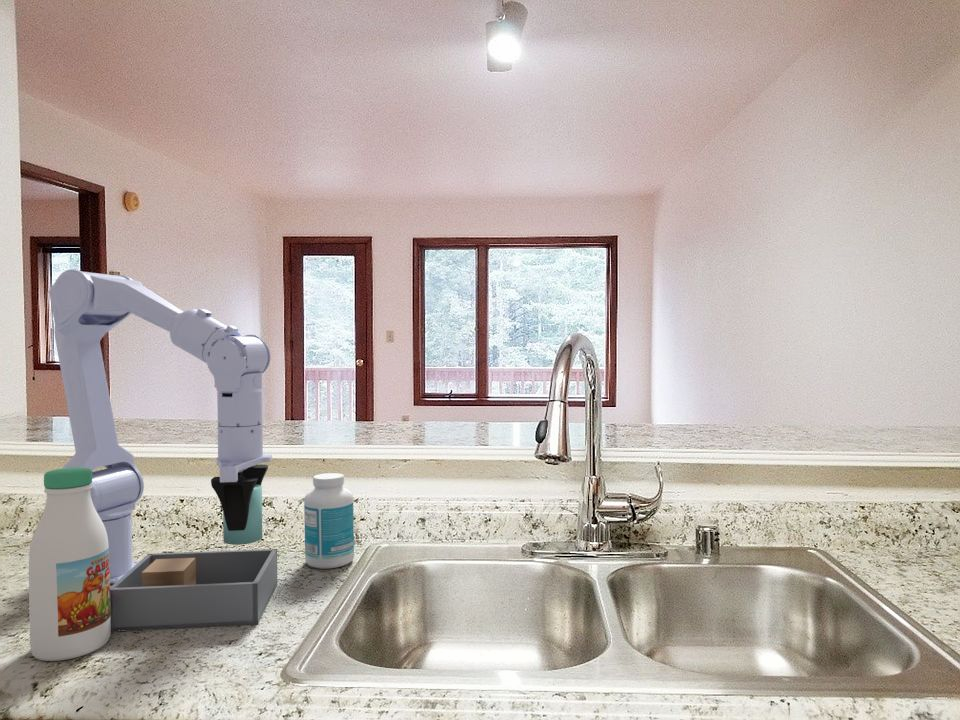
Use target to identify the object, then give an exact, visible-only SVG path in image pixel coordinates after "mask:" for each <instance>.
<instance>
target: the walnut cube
mask: <svg viewBox="0 0 960 720" xmlns="http://www.w3.org/2000/svg"><path fill="white" fill-rule="evenodd" d="M195 584H196V558H174V559H156V560H155V561H154V562H153V563H151V564H150V565H149V566H148V567H147V568H146V569H145V570H144V571H143V572H142V587H149V586H172V585H195Z"/></svg>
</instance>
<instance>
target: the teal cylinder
mask: <svg viewBox="0 0 960 720" xmlns="http://www.w3.org/2000/svg"><path fill="white" fill-rule="evenodd" d="M222 529H223V530H222V532H223V533H222V534H223V535H222V536H223V538H222V540H223V543H225V544H227V545H231V546H236V545H250V544H253V543H257V542H259V541H260V540H262V539H263V486H262V484H261V485H257V484H255V487H254V489H253V492H252V496H251V500H250V505H249V513H248V520H247V525H246V528H245V530H239V531H228V528H227V525H226V521H225V517H224V513H223V512H222Z"/></svg>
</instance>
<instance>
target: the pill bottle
mask: <svg viewBox="0 0 960 720" xmlns="http://www.w3.org/2000/svg"><path fill="white" fill-rule="evenodd" d="M344 483H345V476H344V474H343V473H338V472H337V473H335V472H327V473H326V472H325V473H320V474H316V475H314V476H312V484H313V487H314V489H311V490H309V491H308V492H307V493H306V494H305V496H304V500H303V501H304V502H303V503H304V505H303V508H304V509H303V511H304V515H303V516H304V520H303V521H304V556H305V557H304V559H305V563H306V564H307V565H308V566H309V567H312V568H316V569H325V570H326V569H337V568H340V567H343V566H346V565H348V564H349V563H351V562H353V560H354V558H355V536H354V535H355V533H354V531H355V527H354V523H355V522H354V521H355V520H354V495H353V493H352V491H351V490H350V489H348V488H346V487H343V485H344Z"/></svg>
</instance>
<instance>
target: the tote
mask: <svg viewBox="0 0 960 720" xmlns="http://www.w3.org/2000/svg"><path fill="white" fill-rule="evenodd" d="M174 558H196V584H195V585H172V586H149V587H142V572H143V571H144V570H145V569H146V568H147V567H148V566H149V565H150V564H151V563H153V562H154V561H155V560H156V559H174ZM139 561H140V562H138V563H137V564H136V565H135V566H134V567H133V568H132V569H130V570H129V571H128V572H127V573H126V574H125V575H124V576H122V577H121V578H120V579H119V580H118V581H117V582H116V583H112V585H110V609H111V631H115V632H122V631H121V630H134V631H143V630H142V629H154V630H170V629H169V628H173V629H188V628H189V627H190V628H191V627H193V628H209V627H208V626H213V627H227V626H228V627H229V626H231V627H232V626H248V625H249V626H250V625H251V626H253V625H259V622H260V621H261V619H262V617H263V615H264V613H265V610H266V608H267V606H268V604H269V603H270V600H271V599H272V597H273V594H274V592H275V590H276V588H277V585H278V549H277V548H270V549H269V548H267V549H266V548H264V549H262V548H261V549H237V550H212V551H187V552H186V551H185V552H160V553H159V552H157V553H156V552H154V553H148V554H146V555H145V556H144V557H143V558H142V559H141V560H139ZM167 628H168V629H167ZM190 628H189V629H190ZM119 630H120V631H119Z"/></svg>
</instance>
